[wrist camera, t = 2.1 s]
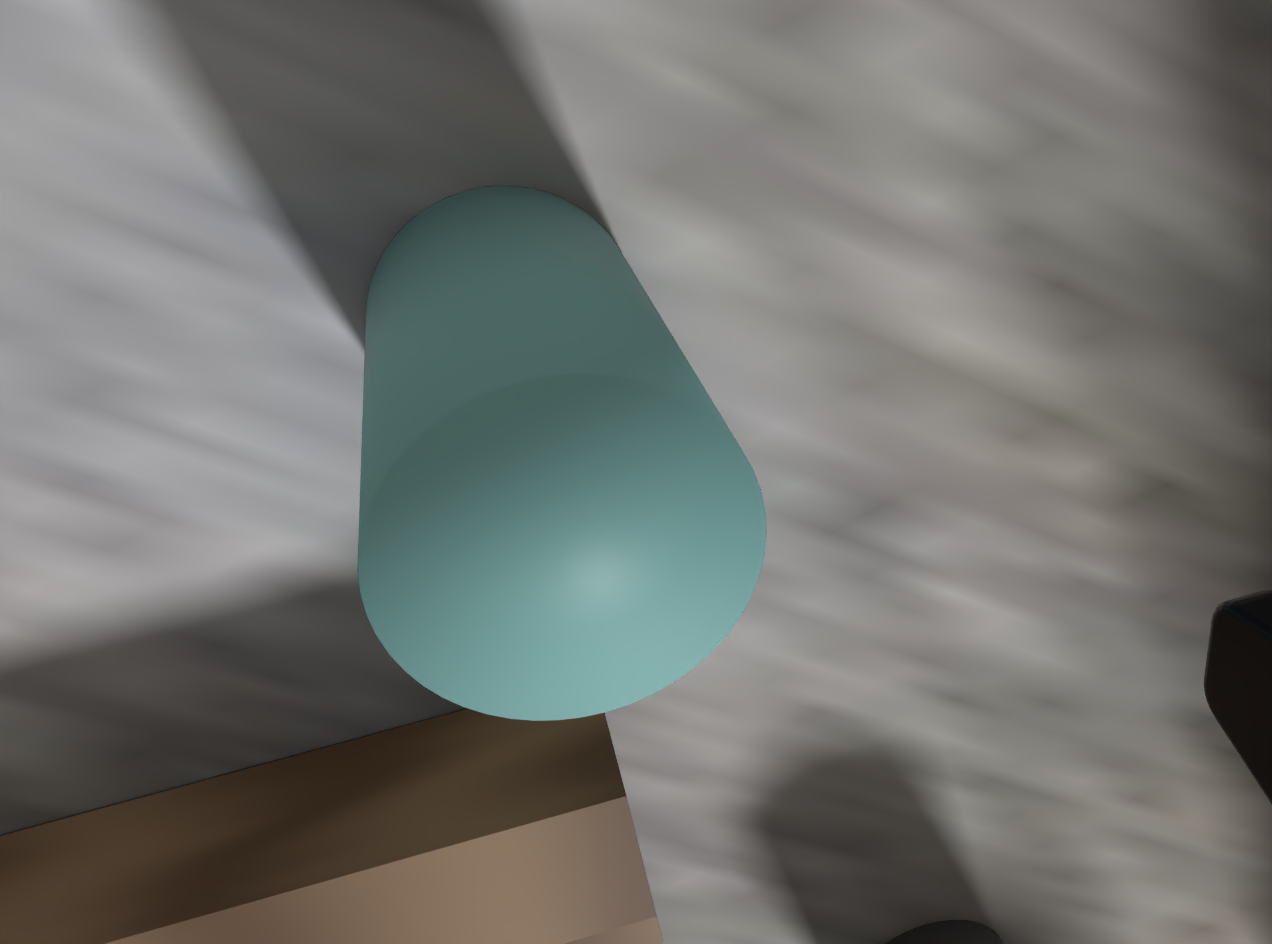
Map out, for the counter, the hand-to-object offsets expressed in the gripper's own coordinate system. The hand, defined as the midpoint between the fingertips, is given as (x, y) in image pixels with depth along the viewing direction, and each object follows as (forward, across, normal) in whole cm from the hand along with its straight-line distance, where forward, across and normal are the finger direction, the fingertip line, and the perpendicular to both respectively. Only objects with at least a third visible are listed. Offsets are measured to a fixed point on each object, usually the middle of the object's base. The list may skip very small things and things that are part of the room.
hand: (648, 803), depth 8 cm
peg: (+10, 0, 0) cm, 10 cm away
